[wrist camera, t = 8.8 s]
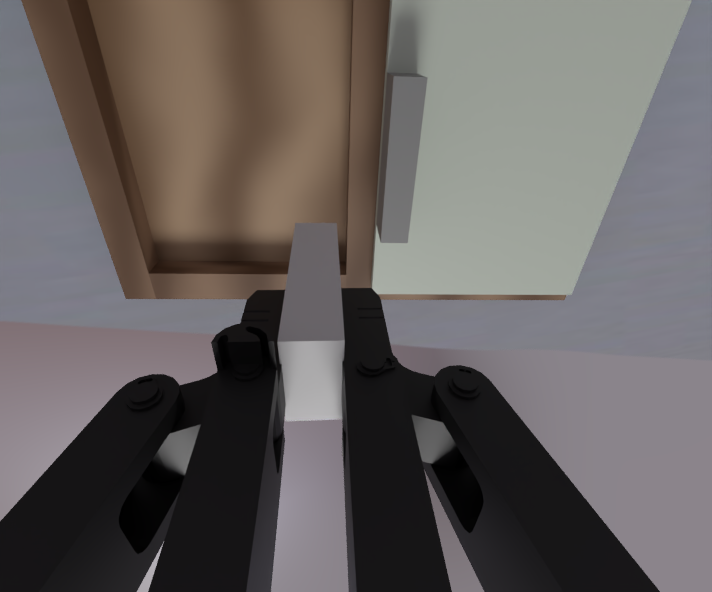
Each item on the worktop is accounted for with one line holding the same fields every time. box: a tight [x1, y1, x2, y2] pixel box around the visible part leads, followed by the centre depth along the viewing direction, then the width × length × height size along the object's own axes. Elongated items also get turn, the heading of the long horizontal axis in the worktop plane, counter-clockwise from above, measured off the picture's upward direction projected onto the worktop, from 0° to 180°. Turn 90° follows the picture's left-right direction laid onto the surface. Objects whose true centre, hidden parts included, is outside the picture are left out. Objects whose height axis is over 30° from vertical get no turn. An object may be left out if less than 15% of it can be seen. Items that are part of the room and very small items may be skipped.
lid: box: [371, 0, 692, 295], centre depth 21 cm, size 14×18×3 cm
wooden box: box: [21, 0, 566, 300], centre depth 23 cm, size 31×20×2 cm, turn 88°
